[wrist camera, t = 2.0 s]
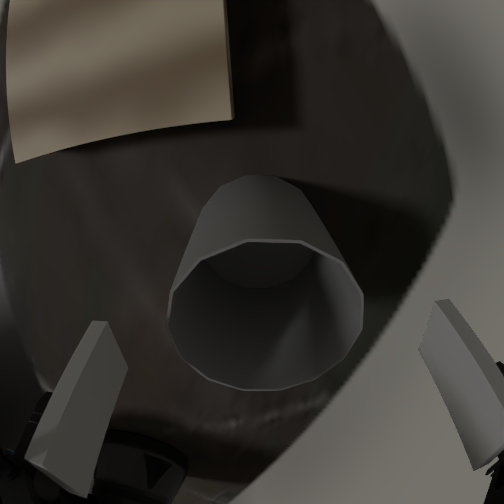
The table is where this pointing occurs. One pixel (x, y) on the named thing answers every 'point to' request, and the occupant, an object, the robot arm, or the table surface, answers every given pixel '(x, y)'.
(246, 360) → the cup
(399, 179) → the table surface
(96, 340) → the robot arm
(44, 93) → the oak stand
